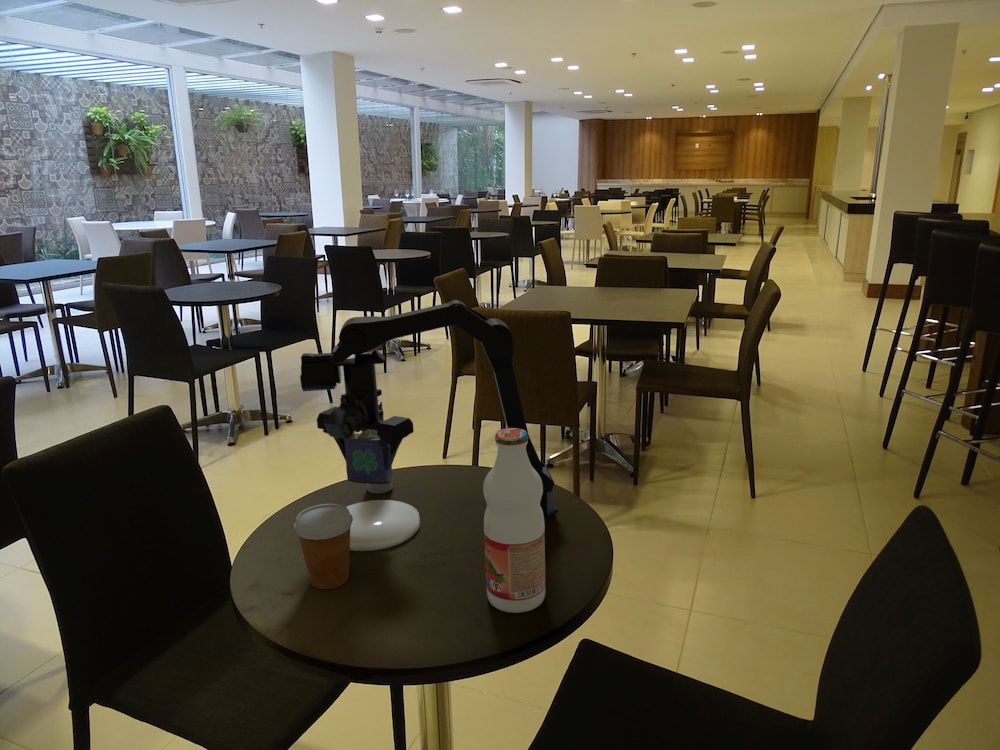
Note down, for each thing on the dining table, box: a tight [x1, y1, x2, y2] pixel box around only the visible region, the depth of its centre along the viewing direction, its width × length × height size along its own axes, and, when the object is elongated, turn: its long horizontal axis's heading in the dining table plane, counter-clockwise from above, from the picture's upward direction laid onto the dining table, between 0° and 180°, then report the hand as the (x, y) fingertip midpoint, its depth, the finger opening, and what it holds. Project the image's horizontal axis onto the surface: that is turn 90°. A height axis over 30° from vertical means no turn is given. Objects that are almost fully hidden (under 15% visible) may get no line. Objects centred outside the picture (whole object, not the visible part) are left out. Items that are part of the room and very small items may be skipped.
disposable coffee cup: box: [293, 503, 353, 590], centre depth 120 cm, size 10×10×12 cm
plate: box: [346, 499, 421, 552], centre depth 139 cm, size 18×18×2 cm
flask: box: [344, 428, 394, 484], centre depth 135 cm, size 9×3×11 cm, turn 75°
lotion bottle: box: [365, 399, 394, 495], centre depth 153 cm, size 6×6×20 cm
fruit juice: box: [482, 427, 547, 614], centre depth 111 cm, size 9×9×28 cm
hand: (368, 466), depth 135 cm, fingers closed on flask, 9 cm apart
